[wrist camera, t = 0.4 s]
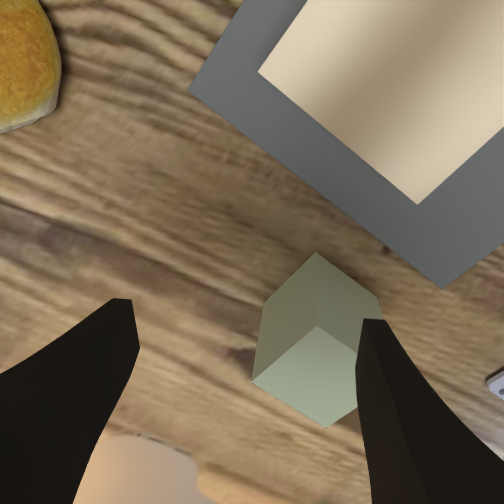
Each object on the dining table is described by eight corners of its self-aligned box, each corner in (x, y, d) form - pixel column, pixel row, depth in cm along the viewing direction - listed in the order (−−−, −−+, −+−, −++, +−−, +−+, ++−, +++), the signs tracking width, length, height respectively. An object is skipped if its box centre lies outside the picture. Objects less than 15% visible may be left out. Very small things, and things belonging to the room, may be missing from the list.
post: (377, 297, 24) (396, 380, 18) (322, 342, 26) (325, 428, 20) (315, 251, 23) (316, 325, 17) (263, 302, 25) (251, 382, 20)
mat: (740, 54, 16) (749, 55, 16) (440, 284, 23) (442, 289, 22) (443, -314, 12) (446, -322, 12) (189, 88, 19) (187, 90, 19)
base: (569, 18, 16) (619, 21, 13) (403, 177, 19) (417, 204, 17) (414, -151, 14) (438, -185, 11) (265, 61, 18) (257, 71, 15)
